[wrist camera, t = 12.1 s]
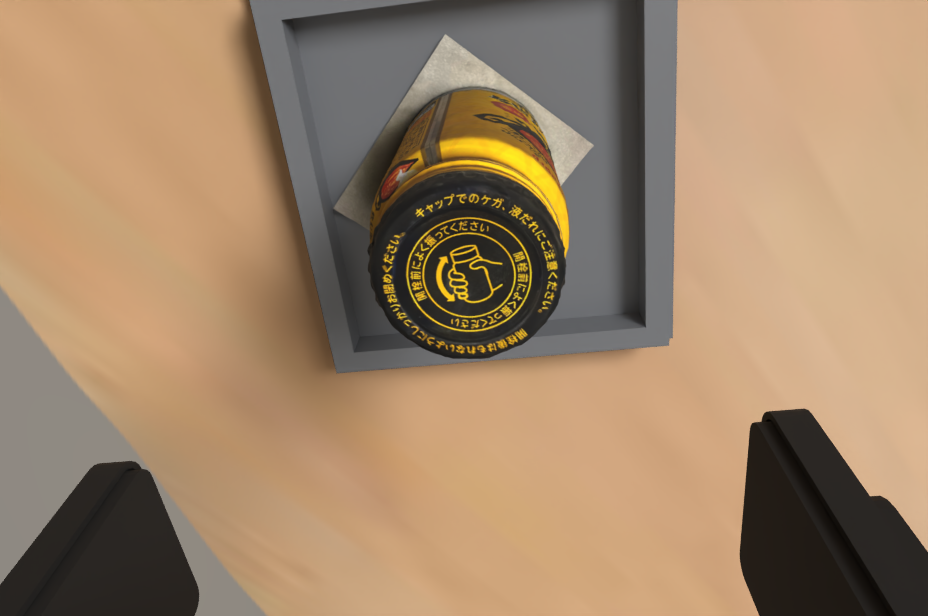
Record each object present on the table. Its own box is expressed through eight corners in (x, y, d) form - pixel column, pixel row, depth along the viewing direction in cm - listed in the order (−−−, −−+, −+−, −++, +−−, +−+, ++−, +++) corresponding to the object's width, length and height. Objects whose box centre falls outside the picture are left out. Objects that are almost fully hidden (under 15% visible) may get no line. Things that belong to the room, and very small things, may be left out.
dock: (249, -22, 26) (230, -20, 25) (674, -79, 25) (689, -83, 23) (337, 360, 34) (328, 383, 32) (669, 331, 32) (680, 354, 31)
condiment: (593, 143, 28) (655, 253, 17) (473, 296, 31) (462, 468, 21) (445, 33, 26) (412, 78, 16) (334, 206, 30) (244, 341, 19)
